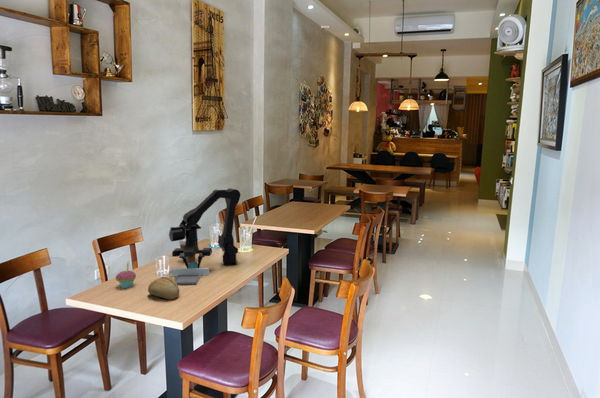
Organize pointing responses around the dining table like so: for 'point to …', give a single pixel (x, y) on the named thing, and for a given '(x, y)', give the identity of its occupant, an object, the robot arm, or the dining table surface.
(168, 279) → the bread roll
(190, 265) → the ball
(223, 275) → the dining table surface
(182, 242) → the disposable coffee cup
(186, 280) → the dish
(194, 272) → the wall
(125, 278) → the cupcake
